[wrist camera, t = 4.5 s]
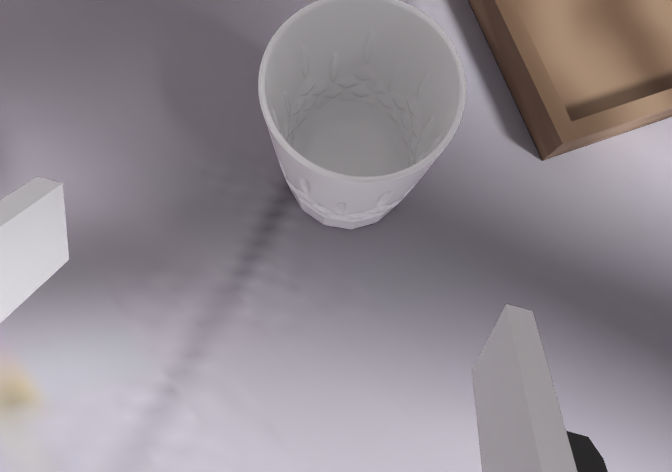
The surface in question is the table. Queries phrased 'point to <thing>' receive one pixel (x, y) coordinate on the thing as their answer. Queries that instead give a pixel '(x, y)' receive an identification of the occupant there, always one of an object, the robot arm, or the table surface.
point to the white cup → (359, 105)
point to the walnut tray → (582, 65)
